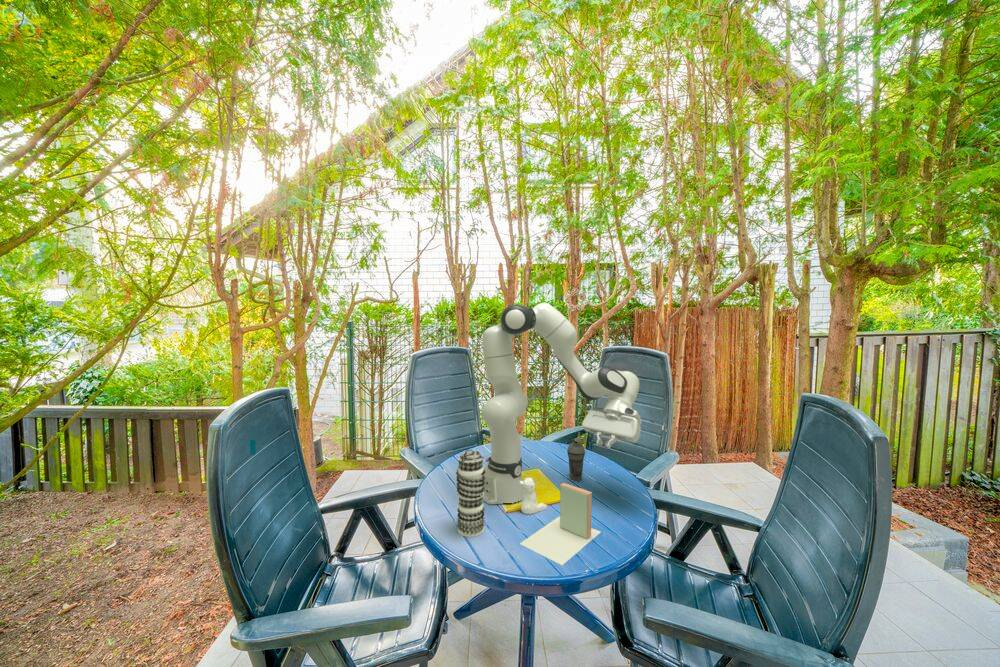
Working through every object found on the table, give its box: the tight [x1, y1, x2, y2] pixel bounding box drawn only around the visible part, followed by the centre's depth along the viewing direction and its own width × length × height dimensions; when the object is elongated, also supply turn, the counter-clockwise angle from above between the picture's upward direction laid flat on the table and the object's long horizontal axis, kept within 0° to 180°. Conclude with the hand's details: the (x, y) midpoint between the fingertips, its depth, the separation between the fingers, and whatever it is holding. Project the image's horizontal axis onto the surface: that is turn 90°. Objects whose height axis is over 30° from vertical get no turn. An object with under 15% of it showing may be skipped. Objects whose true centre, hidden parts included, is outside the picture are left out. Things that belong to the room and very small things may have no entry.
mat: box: [519, 515, 602, 566], centre depth 123 cm, size 15×22×1 cm
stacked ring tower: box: [455, 449, 485, 538], centre depth 128 cm, size 9×9×25 cm
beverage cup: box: [566, 431, 586, 482], centre depth 166 cm, size 7×7×20 cm
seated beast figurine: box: [519, 477, 548, 515], centre depth 140 cm, size 10×9×12 cm
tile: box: [559, 482, 593, 539], centre depth 126 cm, size 10×2×14 cm, turn 48°
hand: (602, 446), depth 138 cm, fingers closed
